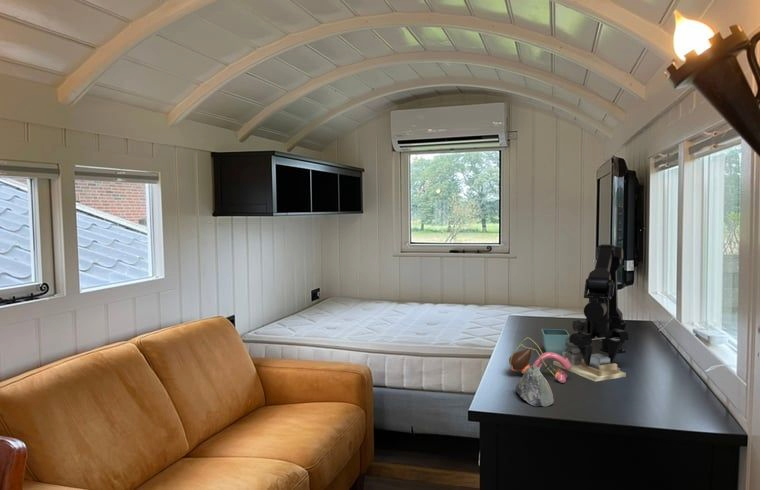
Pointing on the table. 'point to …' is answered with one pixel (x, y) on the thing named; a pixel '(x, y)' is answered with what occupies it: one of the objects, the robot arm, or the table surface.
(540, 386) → the mineral rock
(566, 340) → the grey rounded knob
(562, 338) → the flower pot
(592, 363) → the brushed metal cube
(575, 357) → the chassis board
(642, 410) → the table surface
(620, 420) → the table surface
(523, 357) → the anatomy model
